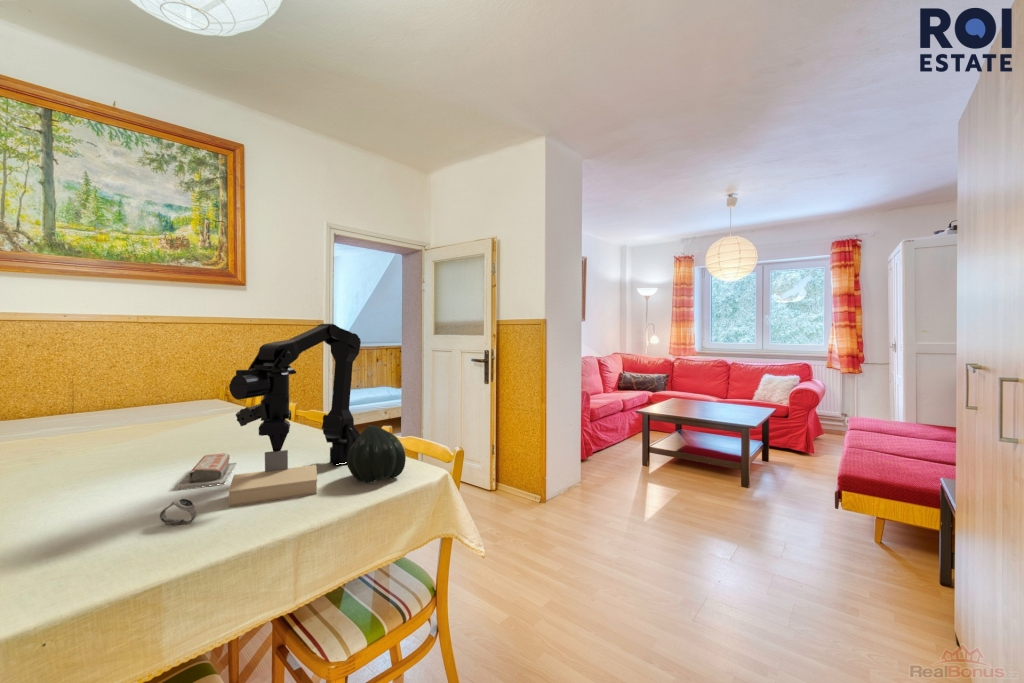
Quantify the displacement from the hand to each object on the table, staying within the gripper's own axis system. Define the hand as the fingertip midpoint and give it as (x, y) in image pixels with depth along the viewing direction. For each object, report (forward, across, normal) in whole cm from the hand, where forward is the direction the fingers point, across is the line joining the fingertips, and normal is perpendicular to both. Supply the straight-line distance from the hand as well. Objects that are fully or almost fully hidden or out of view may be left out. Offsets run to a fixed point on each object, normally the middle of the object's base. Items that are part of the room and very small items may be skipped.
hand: (276, 454), depth 106 cm
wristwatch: (+9, +14, -17) cm, 24 cm away
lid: (+5, +4, 0) cm, 6 cm away
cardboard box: (+9, +4, 0) cm, 10 cm away
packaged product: (+10, -18, -17) cm, 27 cm away
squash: (+9, +3, +24) cm, 26 cm away
